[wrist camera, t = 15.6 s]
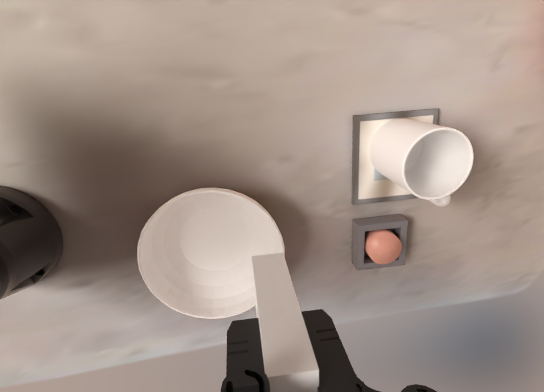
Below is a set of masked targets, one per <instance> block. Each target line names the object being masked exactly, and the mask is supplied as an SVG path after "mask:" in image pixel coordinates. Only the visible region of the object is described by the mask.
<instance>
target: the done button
mask: <svg viewBox="0 0 544 392" xmlns="http://www.w3.org/2000/svg"><path fill="white" fill-rule="evenodd" d="M364 250H365V251H366V253H367V254H368V255H369V257H370V258H371V259H372V260H373V261H374V262H375V263H377V264H388V263H391V262H393V261H394V260H395V259H397V258H398V256H399V255H400V253H401V250H402V244H401V241H400V240H399V239H398V238H397V237H396V236H395V235H394V234H393V233H392V232H391V231H390V230H389V229H382V230H373V231H366V232H365V242H364Z"/></svg>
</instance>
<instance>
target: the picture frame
mask: <svg viewBox="0 0 544 392" xmlns="http://www.w3.org/2000/svg"><path fill="white" fill-rule="evenodd" d="M438 112H439V109H437V108H436V109H424V110H412V111H401V112H389V113H377V114H366V115H354V116H353V149H352V204H353V205H354V204H363V203H373V202H382V201H392V200H401V199H411V198H419V197H417V196H415V195H413V194H412V193H410V192H409V191H407V190H405V189H404V188H402V187H401V186H399V185H398V184H396V183H395V182H393V181H391V180H390V179H388V178H387V177H385V176H384V175H382V174H381V173H379V172H378V171H377V170H376V169H375V168H374V166H373V165H372V163H371V160H370V155H369V148H370V143H371V140H372V138H373V136H374V135H375V133H376V132H377V131H378V129H379V128H380V127H382V126H383V125H384V124H386V123H387V122H389V121H392V120H396V119H411V120H416V121H421V122H425V123H430V124H435V125H437V122H438Z"/></svg>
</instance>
